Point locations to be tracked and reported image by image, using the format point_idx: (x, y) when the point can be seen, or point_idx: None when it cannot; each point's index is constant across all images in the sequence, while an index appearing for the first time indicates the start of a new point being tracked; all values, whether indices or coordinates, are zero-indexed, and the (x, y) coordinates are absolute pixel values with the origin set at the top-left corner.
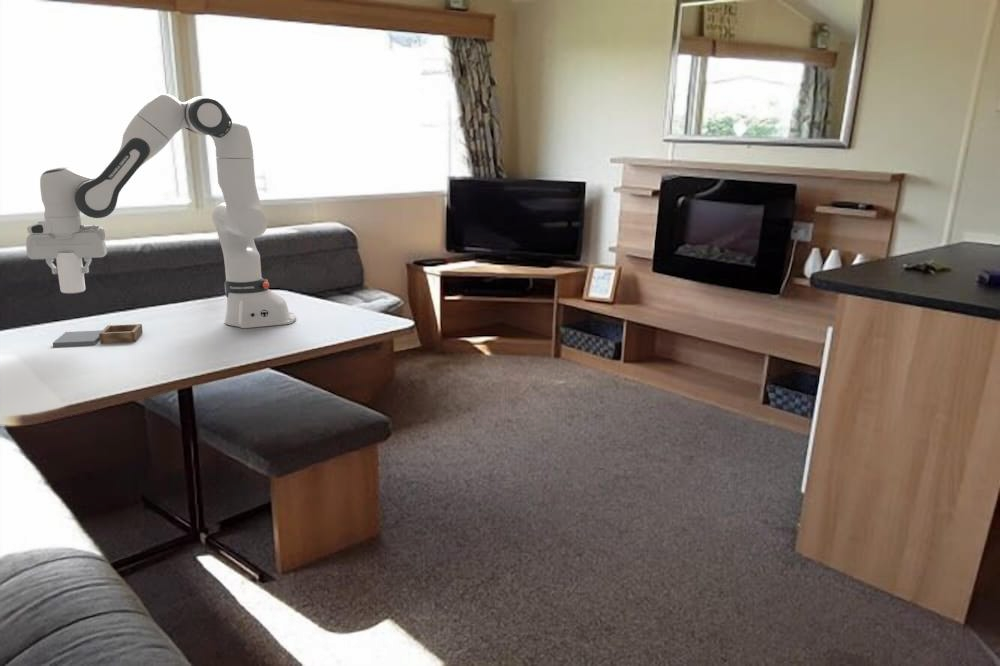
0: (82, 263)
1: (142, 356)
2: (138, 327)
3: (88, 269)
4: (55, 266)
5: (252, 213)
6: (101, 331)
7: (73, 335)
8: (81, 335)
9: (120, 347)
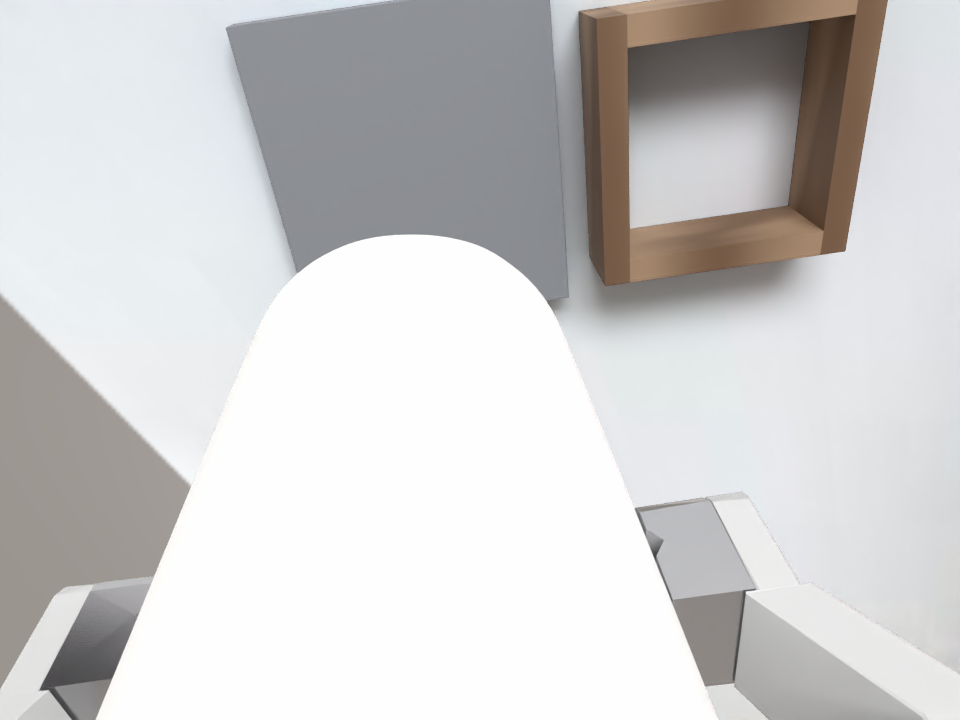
0: (701, 678)
1: (862, 480)
2: (868, 113)
3: (763, 544)
4: (32, 701)
5: None
6: (603, 226)
7: (355, 150)
8: (419, 153)
9: (732, 339)
